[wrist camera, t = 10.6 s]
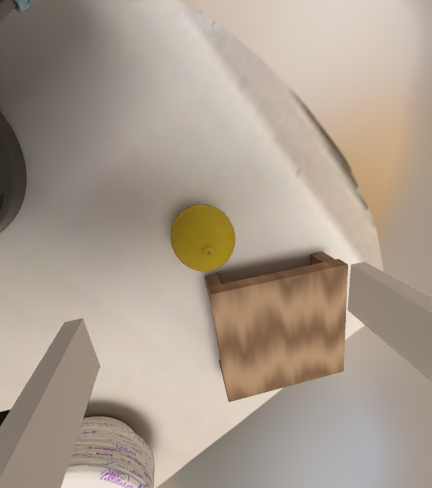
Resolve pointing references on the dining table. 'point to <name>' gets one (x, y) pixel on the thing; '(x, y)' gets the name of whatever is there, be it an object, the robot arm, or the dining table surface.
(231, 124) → the dining table surface
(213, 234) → the lemon
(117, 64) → the dining table surface
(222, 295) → the footstool
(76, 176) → the dining table surface
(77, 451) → the paper bowls
